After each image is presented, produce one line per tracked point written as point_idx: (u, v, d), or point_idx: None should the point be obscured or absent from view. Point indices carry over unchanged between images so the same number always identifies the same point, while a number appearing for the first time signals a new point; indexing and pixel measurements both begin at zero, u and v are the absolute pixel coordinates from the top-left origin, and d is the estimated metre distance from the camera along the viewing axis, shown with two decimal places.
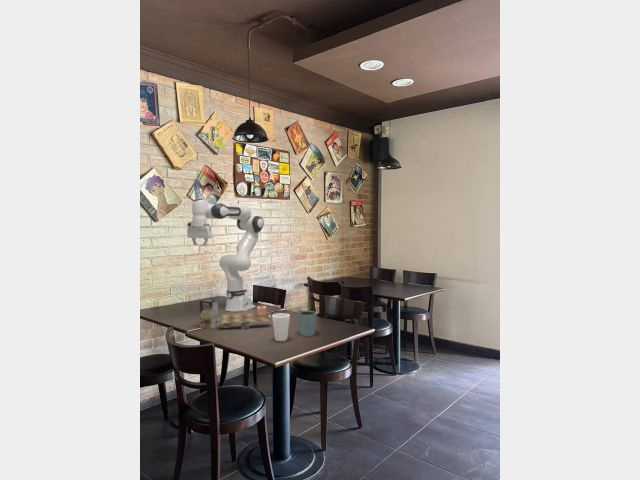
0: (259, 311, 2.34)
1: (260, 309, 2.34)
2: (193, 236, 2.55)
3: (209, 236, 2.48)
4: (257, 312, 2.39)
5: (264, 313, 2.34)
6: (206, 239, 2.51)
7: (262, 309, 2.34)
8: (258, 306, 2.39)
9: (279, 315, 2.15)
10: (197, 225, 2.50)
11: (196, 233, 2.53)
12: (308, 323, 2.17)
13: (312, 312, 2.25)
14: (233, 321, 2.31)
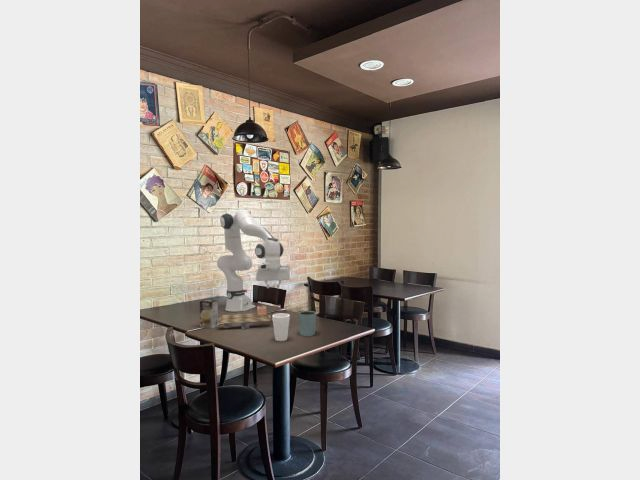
0: (259, 311, 2.34)
1: (260, 309, 2.34)
2: (266, 279, 2.35)
3: (289, 277, 2.39)
4: (257, 312, 2.39)
5: (264, 313, 2.34)
6: None
7: (262, 309, 2.34)
8: (258, 306, 2.39)
9: (279, 315, 2.15)
10: (277, 267, 2.34)
11: (271, 275, 2.36)
12: (308, 323, 2.17)
13: (312, 312, 2.25)
14: (233, 321, 2.31)
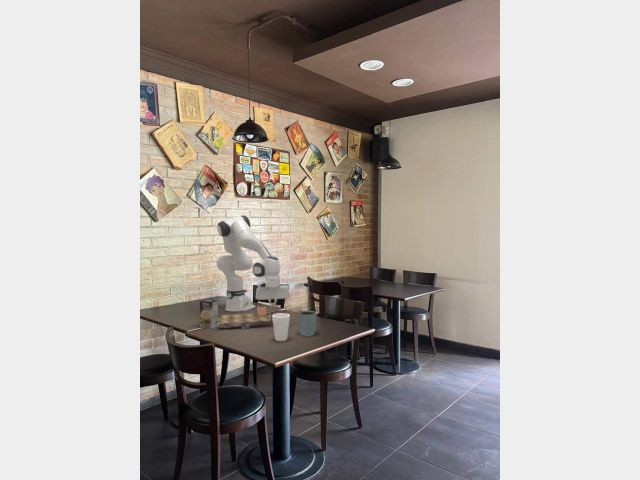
0: (259, 311, 2.34)
1: (260, 309, 2.34)
2: (266, 297, 2.35)
3: None
4: (257, 312, 2.39)
5: (264, 313, 2.34)
6: (276, 299, 2.38)
7: (262, 309, 2.34)
8: (258, 306, 2.39)
9: (279, 315, 2.15)
10: (277, 285, 2.34)
11: (271, 294, 2.36)
12: (308, 323, 2.17)
13: (312, 312, 2.25)
14: (233, 321, 2.31)
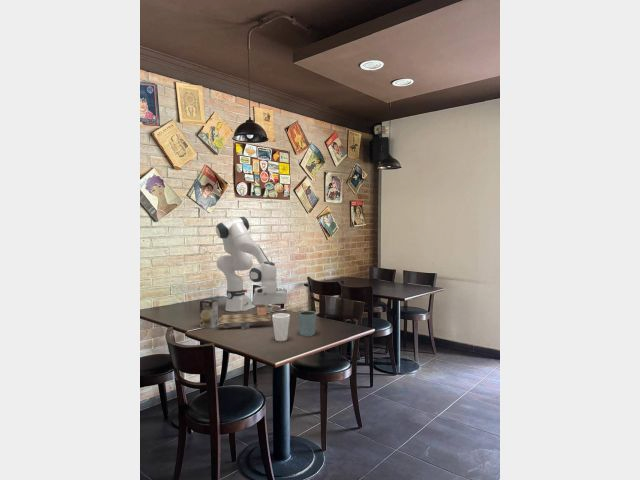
0: (259, 311, 2.34)
1: (260, 309, 2.34)
2: (263, 303, 2.36)
3: None
4: (257, 312, 2.39)
5: (264, 313, 2.34)
6: (273, 304, 2.39)
7: (262, 309, 2.34)
8: (258, 306, 2.39)
9: (279, 315, 2.15)
10: (273, 291, 2.35)
11: (268, 299, 2.36)
12: (308, 323, 2.17)
13: (312, 312, 2.25)
14: (233, 321, 2.31)
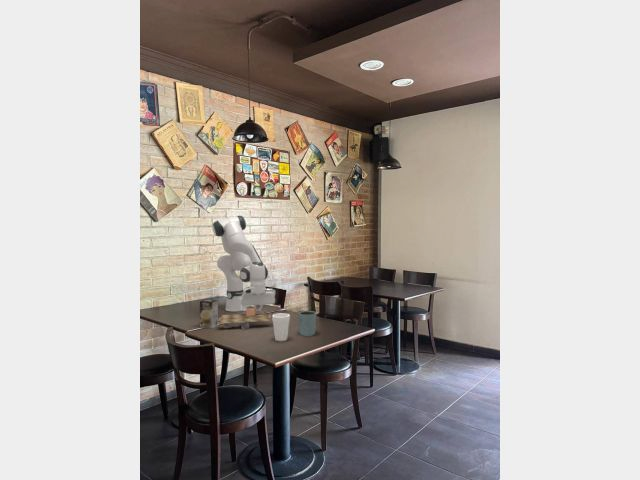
0: (248, 312, 2.32)
1: (249, 310, 2.32)
2: (251, 303, 2.34)
3: (274, 301, 2.38)
4: None
5: (253, 314, 2.33)
6: None
7: (251, 310, 2.33)
8: (247, 307, 2.38)
9: (279, 315, 2.15)
10: (262, 291, 2.33)
11: (256, 300, 2.35)
12: (308, 323, 2.17)
13: (312, 312, 2.25)
14: (233, 321, 2.31)
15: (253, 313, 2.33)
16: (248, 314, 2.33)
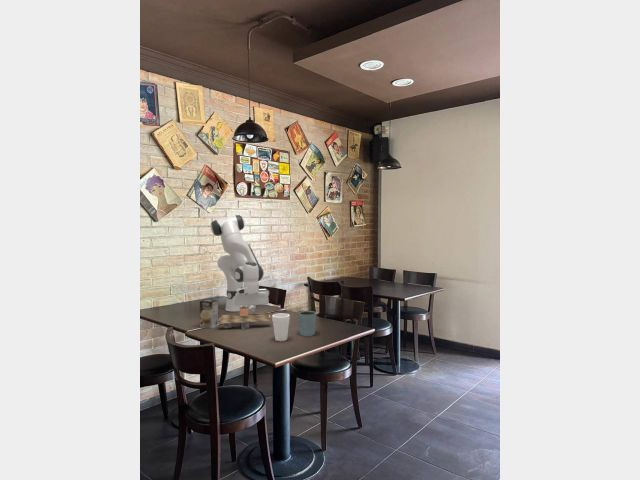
0: (241, 312, 2.32)
1: (242, 310, 2.32)
2: (245, 303, 2.33)
3: (268, 302, 2.37)
4: None
5: (246, 314, 2.32)
6: (255, 305, 2.36)
7: (244, 310, 2.32)
8: (240, 307, 2.37)
9: (279, 315, 2.15)
10: (255, 292, 2.32)
11: (250, 300, 2.34)
12: (308, 323, 2.17)
13: (312, 312, 2.25)
14: (233, 321, 2.31)
15: (246, 313, 2.32)
16: (241, 314, 2.32)
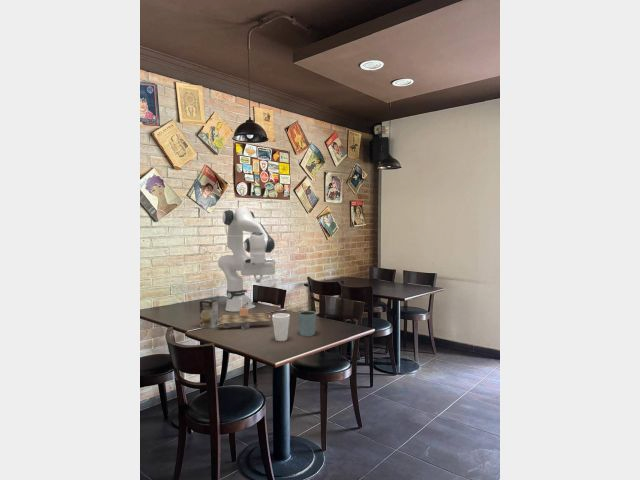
0: (241, 312, 2.32)
1: (242, 310, 2.32)
2: (251, 273, 2.33)
3: (274, 272, 2.37)
4: None
5: (246, 314, 2.32)
6: None
7: (244, 310, 2.32)
8: (240, 307, 2.37)
9: (279, 315, 2.15)
10: (262, 261, 2.32)
11: (256, 270, 2.34)
12: (308, 323, 2.17)
13: (312, 312, 2.25)
14: (233, 321, 2.31)
15: (246, 313, 2.32)
16: (241, 314, 2.32)
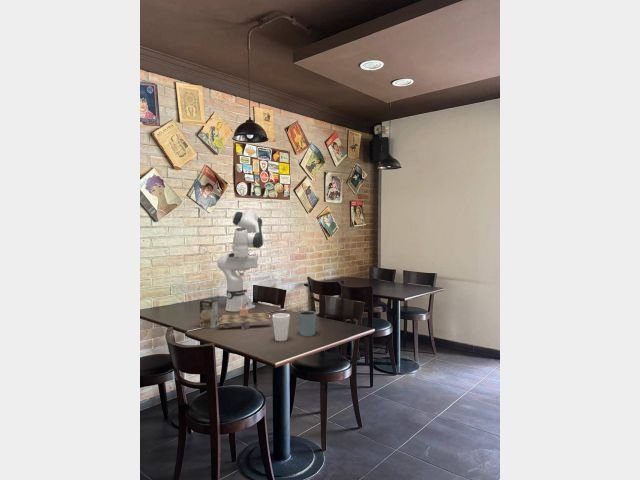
0: (241, 312, 2.32)
1: (242, 310, 2.32)
2: (235, 267, 2.45)
3: (257, 266, 2.49)
4: None
5: (246, 314, 2.32)
6: (245, 269, 2.48)
7: (244, 310, 2.32)
8: (240, 307, 2.37)
9: (279, 315, 2.15)
10: (245, 255, 2.44)
11: (239, 264, 2.45)
12: (308, 323, 2.17)
13: (312, 312, 2.25)
14: (233, 321, 2.31)
15: (246, 313, 2.32)
16: (241, 314, 2.32)
